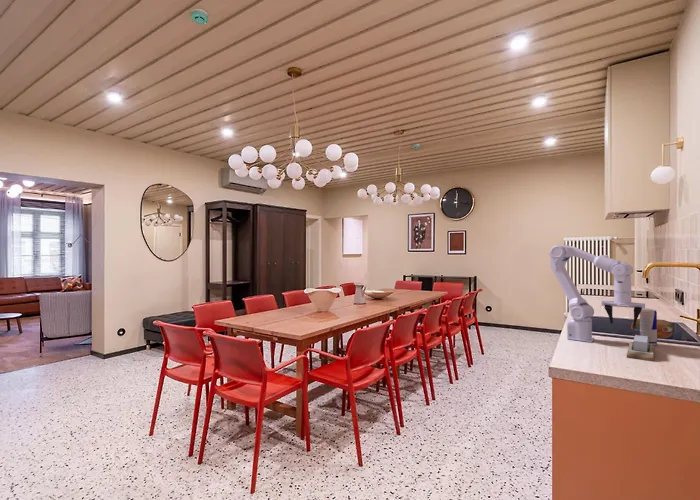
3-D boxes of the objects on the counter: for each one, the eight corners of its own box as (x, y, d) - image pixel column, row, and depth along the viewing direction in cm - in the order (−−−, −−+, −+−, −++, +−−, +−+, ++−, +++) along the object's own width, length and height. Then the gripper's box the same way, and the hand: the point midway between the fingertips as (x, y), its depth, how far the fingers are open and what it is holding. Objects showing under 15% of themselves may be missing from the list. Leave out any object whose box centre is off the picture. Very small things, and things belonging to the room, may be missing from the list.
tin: (632, 336, 170) (632, 318, 169) (630, 334, 172) (630, 317, 172) (674, 339, 162) (674, 320, 162) (672, 338, 165) (671, 319, 165)
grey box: (633, 353, 139) (633, 340, 139) (635, 347, 148) (635, 334, 148) (647, 355, 136) (647, 342, 136) (647, 348, 145) (647, 336, 145)
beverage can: (657, 346, 152) (657, 310, 152) (640, 344, 155) (639, 309, 155) (656, 343, 156) (656, 308, 156) (639, 341, 160) (639, 307, 160)
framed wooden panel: (626, 357, 138) (626, 350, 138) (629, 347, 151) (629, 341, 151) (654, 361, 132) (654, 354, 132) (654, 350, 146) (654, 344, 146)
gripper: (600, 291, 153) (600, 323, 153) (644, 294, 144) (645, 328, 144) (602, 290, 159) (602, 321, 159) (645, 292, 149) (645, 325, 149)
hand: (623, 324), depth 152 cm, fingers open, 7 cm apart
